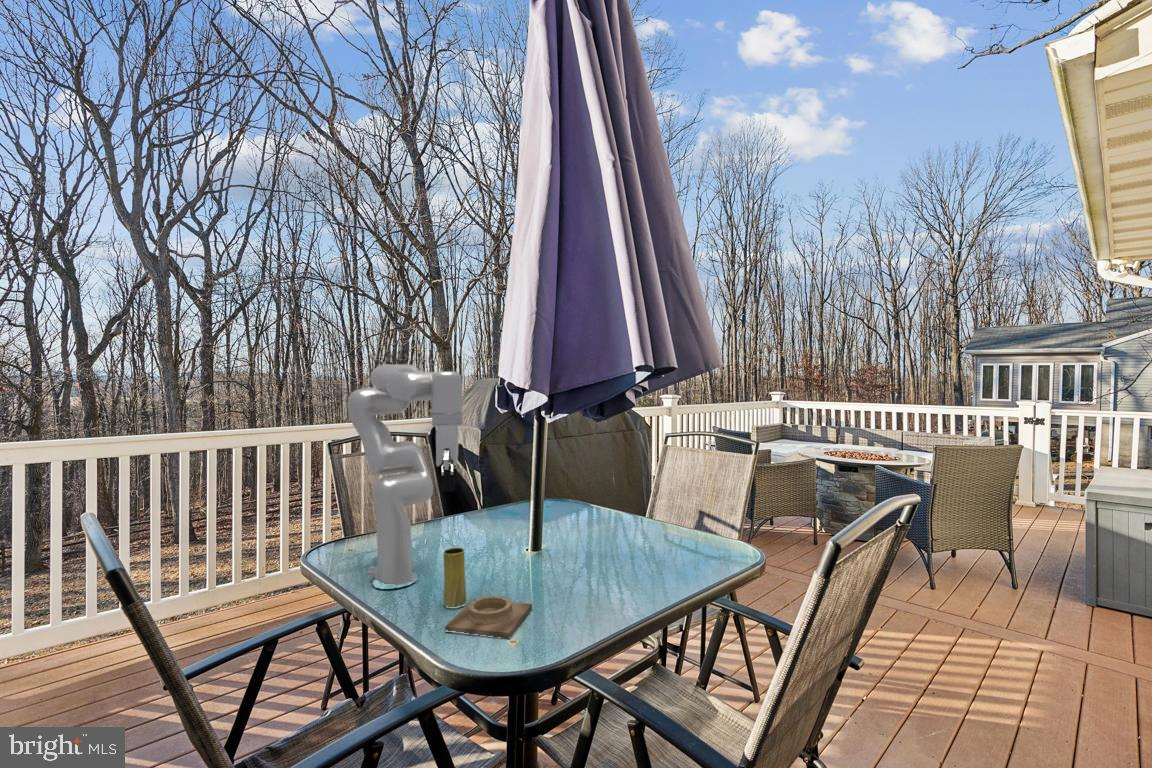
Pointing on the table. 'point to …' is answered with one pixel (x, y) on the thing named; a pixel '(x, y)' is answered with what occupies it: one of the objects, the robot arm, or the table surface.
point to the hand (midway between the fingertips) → (449, 487)
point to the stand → (490, 617)
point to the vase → (454, 577)
